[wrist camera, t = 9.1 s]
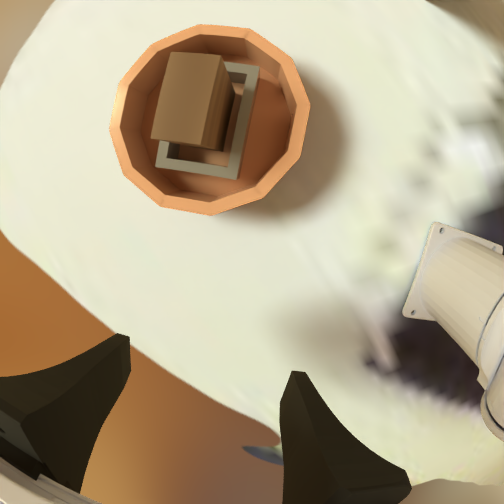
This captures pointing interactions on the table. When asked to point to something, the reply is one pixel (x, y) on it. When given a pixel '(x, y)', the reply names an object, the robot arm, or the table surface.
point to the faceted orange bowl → (239, 129)
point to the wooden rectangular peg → (194, 102)
